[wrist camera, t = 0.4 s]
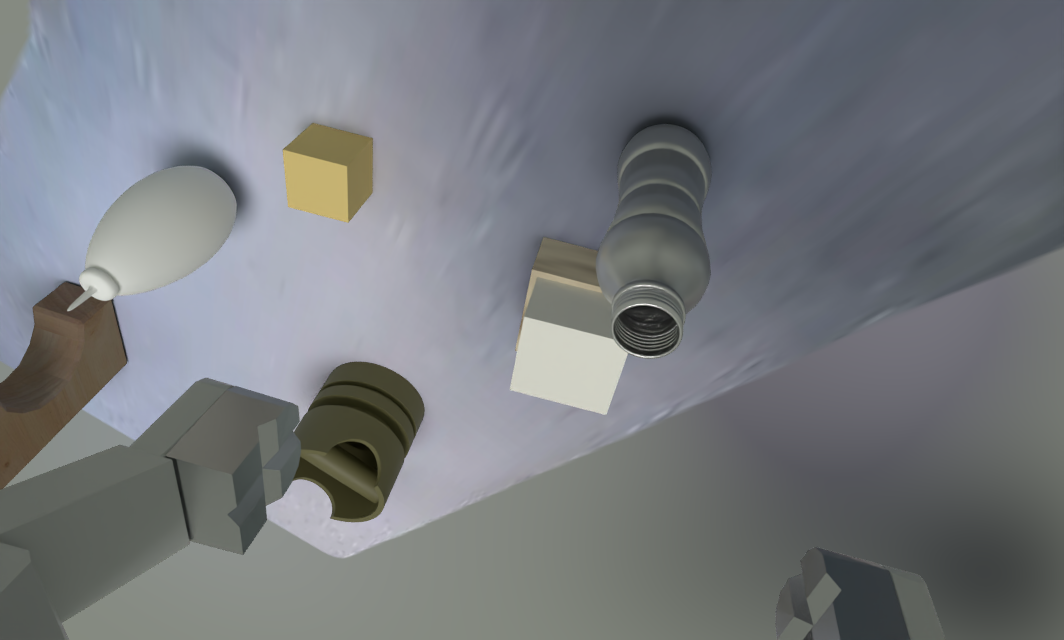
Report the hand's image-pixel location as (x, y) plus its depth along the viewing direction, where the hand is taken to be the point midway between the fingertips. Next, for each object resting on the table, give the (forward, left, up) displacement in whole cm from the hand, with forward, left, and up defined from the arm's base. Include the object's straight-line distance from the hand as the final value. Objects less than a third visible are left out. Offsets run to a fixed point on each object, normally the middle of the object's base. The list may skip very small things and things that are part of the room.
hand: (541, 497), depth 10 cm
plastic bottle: (+12, +4, -40) cm, 42 cm away
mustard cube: (+19, -21, -40) cm, 49 cm away
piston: (+48, -18, -40) cm, 65 cm away
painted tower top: (+26, +1, -35) cm, 43 cm away
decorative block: (+48, -51, -40) cm, 81 cm away
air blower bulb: (+25, -33, -40) cm, 58 cm away
